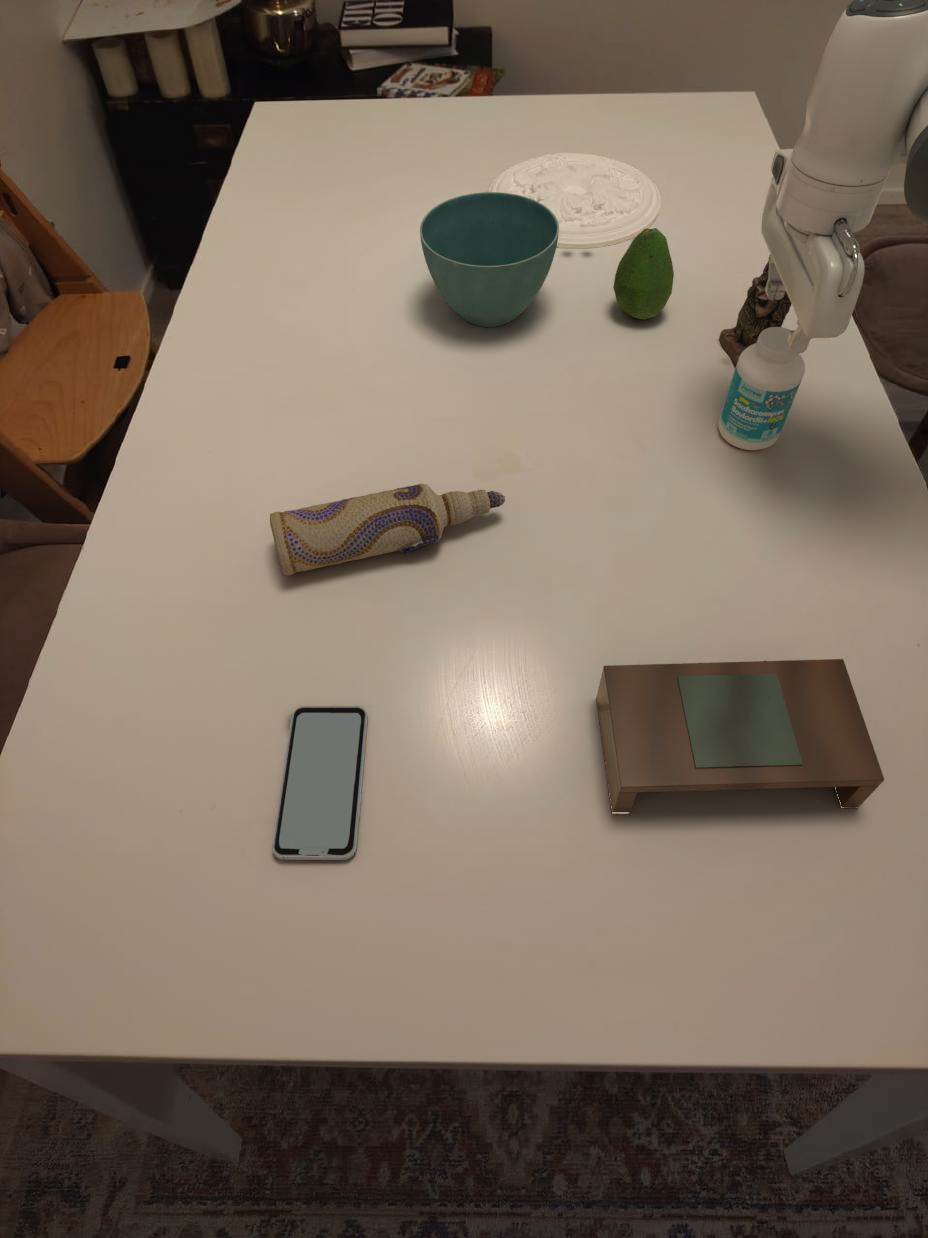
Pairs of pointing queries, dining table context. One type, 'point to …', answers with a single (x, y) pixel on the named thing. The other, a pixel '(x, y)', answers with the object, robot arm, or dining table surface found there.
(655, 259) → the avocado
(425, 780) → the dining table surface
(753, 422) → the pill bottle
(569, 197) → the ceiling medallion
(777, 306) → the statue
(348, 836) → the smartphone
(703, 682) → the shelf
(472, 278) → the plant pot
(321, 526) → the decorative bottle
